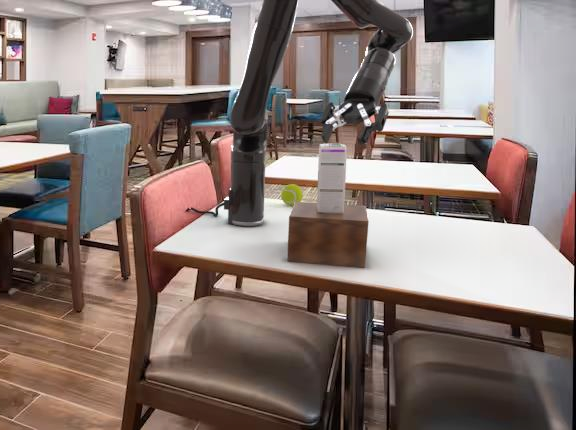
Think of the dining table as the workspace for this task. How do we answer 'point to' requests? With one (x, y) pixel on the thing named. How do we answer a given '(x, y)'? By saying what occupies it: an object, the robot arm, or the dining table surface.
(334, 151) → the syrup box
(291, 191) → the tennis ball
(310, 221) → the wooden box
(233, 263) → the dining table surface
